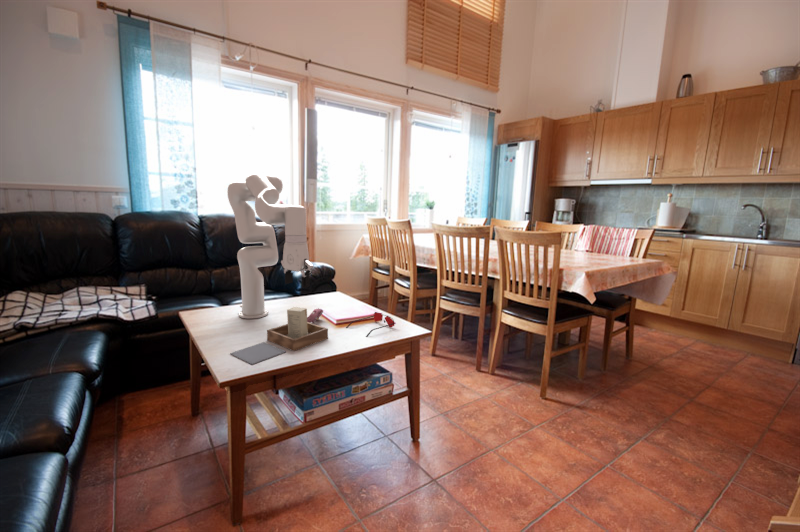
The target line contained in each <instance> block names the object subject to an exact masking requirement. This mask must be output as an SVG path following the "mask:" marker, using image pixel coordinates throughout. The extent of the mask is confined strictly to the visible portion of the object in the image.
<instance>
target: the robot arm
mask: <svg viewBox="0 0 800 532" xmlns="http://www.w3.org/2000/svg"><path fill="white" fill-rule="evenodd" d="M282 181H283V180H282V179H281V178H280V177H279V176H278V175H277V174H272V173H271V174H270V173H259V172H257V173H251V174H249V175H248V176H247V177H246V178H245V181H244V180H239V181H238V180H237V181H233V182H231V183H229V185H228V187H227V200H228V203H229V205H230V207H231V209H232V211H233V215H234V221H235V227H236V233H237V238H238V240H239V242H240V243H242V244H245V245H246V244H248V245H249V244H262V245H252V246H251V245H250V246H245V247H242V248H240V249H239V250H238V251H237V253H236V254H237V255H236V259H237V262H238V265H239V273H240V289H241V290H240V291H241V304H240V305H239V308H241V311H239V313H238V317H239V318H242V319H248V320H249V319H250V320H251V319H252V320H253V319H260V318H263V317H267V316H268V315H269V310H268V309H266V307H265V286H264V285H265V284H264V276H263V273H262V272H261V271H260V270H259V269H258V268H261V267H263V268H264V267H271V266H275V265H277V263H278V261H279V250H278V244H277V239H276V232H275V228H274V226H282V225H283V226H284V232H285V233H284V235H285V237H284V239H285V242H284V244H283V249H282V250H283V251H282V252H283V254H282V259H281V260H280V263H281V266H282V269H283V273H284V284H285V285H288V284H293V283H294V275H293V273H294V272H297V273H298V272H300V273H301V275H302V276H301V288H302V289H305V288H309V287H310V285H311V283H310V281H311V280H310V279H311V278H310V277H311V276H312V274H313V270H314V265H313V264H312V262H310V252H309V248H308V247H309V246H308V242H307V236H308V235H307V209H306V207H305V206H303V205H294V204H278V203H277V202H278V201H279V199H280V194H281V192H282V191H283V189H284V188H283V187H284V186H283V182H282ZM248 202H254V209H255V210H254V209H253V208H252V206H251V205H250V204H249V203H248ZM256 215H257V216H258V218H259V219H260V222H258V221H257V219H256Z"/></svg>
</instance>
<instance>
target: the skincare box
mask: <svg viewBox="0 0 800 532" xmlns="http://www.w3.org/2000/svg"><path fill="white" fill-rule="evenodd" d="M307 310H308V309H307V308H306V307H305V308H304V307H297V306H293V307H290V308H288V309H286V314H287V316H286V317H287V324H288V335H287V336H288V337H290V338H293V339H296V338H299V337H302V336H305V335H308V334H309V333H308V327H307V317H308V311H307Z"/></svg>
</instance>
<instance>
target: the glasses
mask: <svg viewBox="0 0 800 532" xmlns="http://www.w3.org/2000/svg"><path fill="white" fill-rule="evenodd" d="M383 316H385V317H384V318H383ZM370 318H373V320H374V321H375V322H379V321H380V322H382V321H383V323H384V324H386V325H383V326H380V327H376V328H373V329H371V330H370V331H369V332H368V333H367V334H366V336H365V337H366V338H368V336H369V335H370V334H371V333H372V332H373V331H375V330H378V329H382V328H385V327H389V328H391V327H394V326H395V325H396V324H397V323H396V322H395V319H393V318H392V317H391V316H389V315H386V314H383V313H380V312H378V311H377V312H376V311H374V313H373V315H371V316H368V317H364V318H360V319H357V320H353V321H351V322H350V323H349V324H347V326H346V327H345V328H346V329H348V328H349V327H350V326H351V325H352V324H353V323H355V322H358V321H362V320H365V319H370ZM383 319H384V320H383Z"/></svg>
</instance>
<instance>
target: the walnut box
mask: <svg viewBox="0 0 800 532" xmlns="http://www.w3.org/2000/svg"><path fill="white" fill-rule="evenodd" d="M307 327H308V335H305V336H302V337H299V338H296V339H293V338H290V337H288V323H286V324H283V325H279V326H276V327H273V328H270V329H266V338H267V341H269V342H270V343H274V344H275V345H278V346H280V347H283V348H285V349H288V350H290V349H291V351H293V352H295V351H298V349H299V350H301V349H305V348H306V346H307V347H309V346H312V345H314V344H317V343H319V342H322V341H324V340H326V339H329V336H328V335H329V331H328V330H329V329H328V328H327V327H324V326H321V325H319V324H315V323H312V322H311V323H309V322H307Z"/></svg>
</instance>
